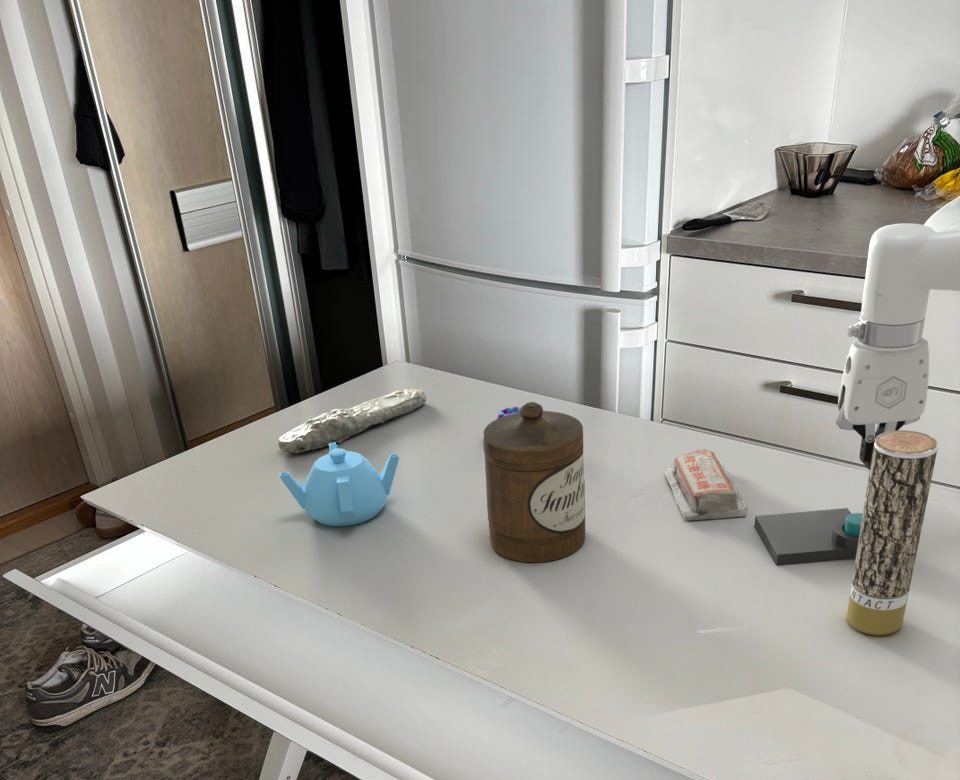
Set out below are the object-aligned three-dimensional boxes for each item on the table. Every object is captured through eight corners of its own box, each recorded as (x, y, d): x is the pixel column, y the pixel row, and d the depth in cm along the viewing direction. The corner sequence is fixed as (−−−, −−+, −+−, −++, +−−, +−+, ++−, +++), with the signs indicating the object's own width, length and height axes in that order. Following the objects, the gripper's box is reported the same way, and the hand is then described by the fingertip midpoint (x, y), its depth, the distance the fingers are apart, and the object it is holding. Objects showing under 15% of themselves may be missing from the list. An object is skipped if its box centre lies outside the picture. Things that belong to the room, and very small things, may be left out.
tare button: (865, 524, 141) (867, 511, 140) (874, 536, 138) (876, 523, 137) (840, 526, 141) (842, 513, 140) (849, 538, 138) (851, 525, 137)
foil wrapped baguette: (439, 412, 202) (409, 404, 209) (436, 386, 200) (406, 379, 206) (298, 460, 183) (269, 450, 189) (293, 433, 180) (264, 423, 186)
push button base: (853, 518, 149) (857, 497, 147) (885, 559, 139) (889, 538, 137) (754, 526, 150) (755, 506, 148) (777, 568, 139) (780, 547, 137)
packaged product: (750, 489, 149) (685, 495, 150) (748, 518, 152) (684, 523, 152) (723, 442, 164) (664, 447, 164) (721, 469, 167) (663, 474, 167)
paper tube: (863, 603, 130) (893, 425, 116) (911, 621, 126) (949, 439, 112) (835, 624, 127) (863, 444, 113) (884, 644, 122) (919, 459, 108)
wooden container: (560, 571, 143) (555, 429, 131) (473, 552, 150) (460, 416, 137) (601, 526, 154) (599, 391, 141) (517, 510, 160) (509, 380, 148)
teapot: (282, 520, 164) (269, 461, 158) (339, 484, 174) (329, 427, 168) (353, 539, 157) (342, 477, 150) (408, 500, 167) (400, 441, 161)
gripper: (840, 346, 120) (825, 482, 131) (963, 334, 120) (937, 471, 130) (821, 328, 126) (807, 459, 137) (937, 316, 126) (915, 448, 136)
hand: (871, 465), depth 133 cm, fingers closed
